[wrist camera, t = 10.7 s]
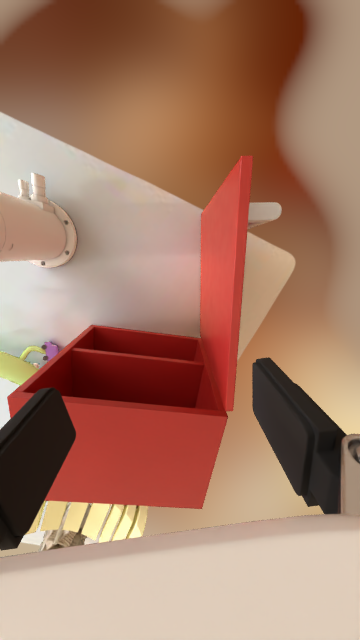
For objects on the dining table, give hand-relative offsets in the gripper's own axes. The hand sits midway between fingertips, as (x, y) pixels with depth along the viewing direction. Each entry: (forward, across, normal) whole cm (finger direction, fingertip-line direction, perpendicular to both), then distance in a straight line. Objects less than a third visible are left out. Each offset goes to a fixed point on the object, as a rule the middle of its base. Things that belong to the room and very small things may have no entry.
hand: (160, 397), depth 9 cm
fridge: (+35, +9, +19) cm, 41 cm away
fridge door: (+35, -11, 0) cm, 36 cm away
